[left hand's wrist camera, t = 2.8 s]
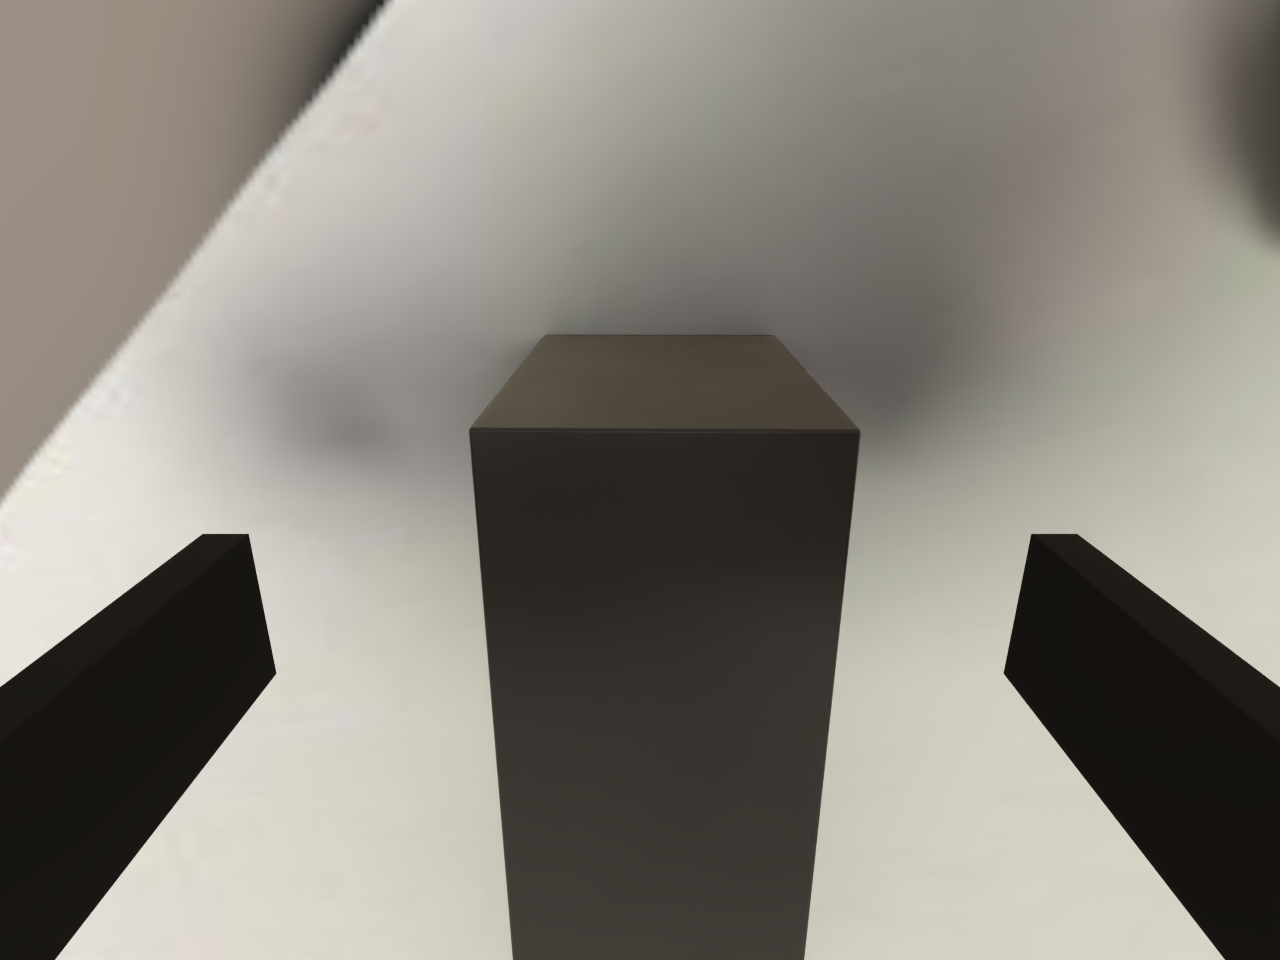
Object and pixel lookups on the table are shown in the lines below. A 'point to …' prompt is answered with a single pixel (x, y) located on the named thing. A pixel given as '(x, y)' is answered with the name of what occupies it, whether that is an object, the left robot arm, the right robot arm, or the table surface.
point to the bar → (661, 640)
